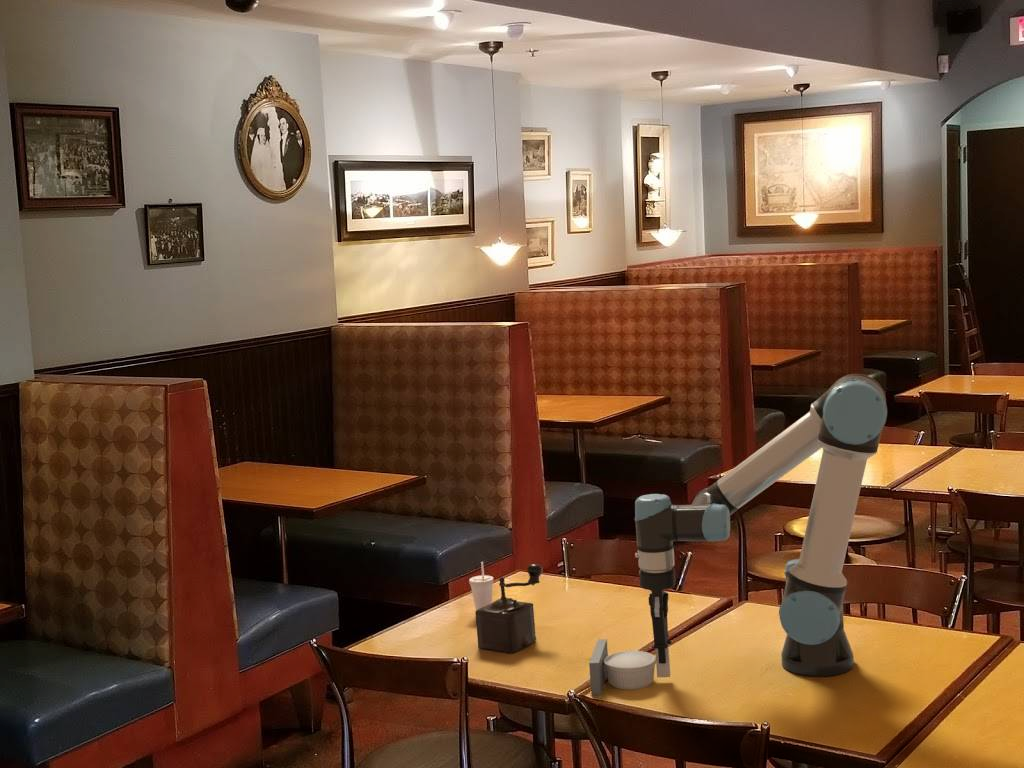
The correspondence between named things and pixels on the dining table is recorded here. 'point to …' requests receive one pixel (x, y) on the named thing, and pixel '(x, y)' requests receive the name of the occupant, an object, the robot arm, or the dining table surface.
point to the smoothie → (481, 589)
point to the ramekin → (630, 669)
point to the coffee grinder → (508, 619)
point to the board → (598, 667)
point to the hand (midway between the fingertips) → (663, 675)
